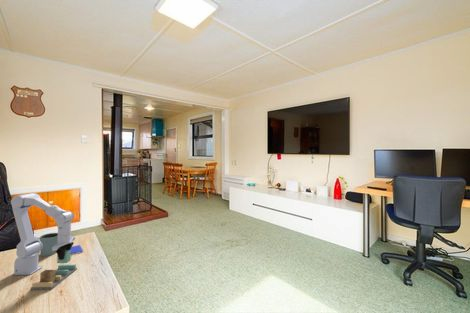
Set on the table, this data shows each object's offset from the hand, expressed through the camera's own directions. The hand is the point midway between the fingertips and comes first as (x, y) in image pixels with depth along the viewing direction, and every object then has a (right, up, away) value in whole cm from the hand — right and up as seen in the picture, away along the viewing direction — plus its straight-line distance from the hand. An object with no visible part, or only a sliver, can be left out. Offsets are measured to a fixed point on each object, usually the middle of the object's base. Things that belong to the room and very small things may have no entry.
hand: (63, 257), depth 117 cm
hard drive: (-15, -9, +26) cm, 32 cm away
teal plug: (0, -2, 0) cm, 2 cm away
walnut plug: (+1, -8, -11) cm, 13 cm away
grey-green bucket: (-28, -8, +22) cm, 37 cm away
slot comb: (0, -9, -6) cm, 10 cm away
